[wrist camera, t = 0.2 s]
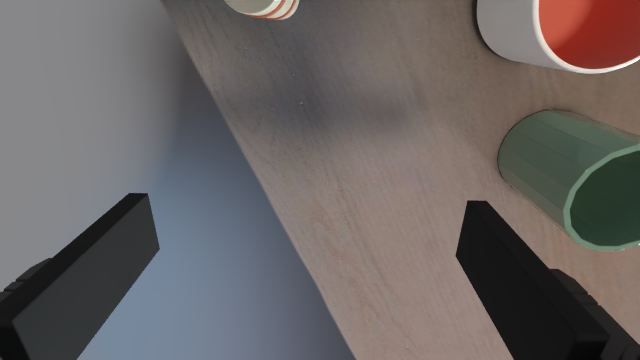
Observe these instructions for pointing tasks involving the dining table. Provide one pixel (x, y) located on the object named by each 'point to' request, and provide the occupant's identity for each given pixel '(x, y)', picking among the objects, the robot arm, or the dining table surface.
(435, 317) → the dining table surface
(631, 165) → the tumbler
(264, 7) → the cream banded cylinder
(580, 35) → the cup
